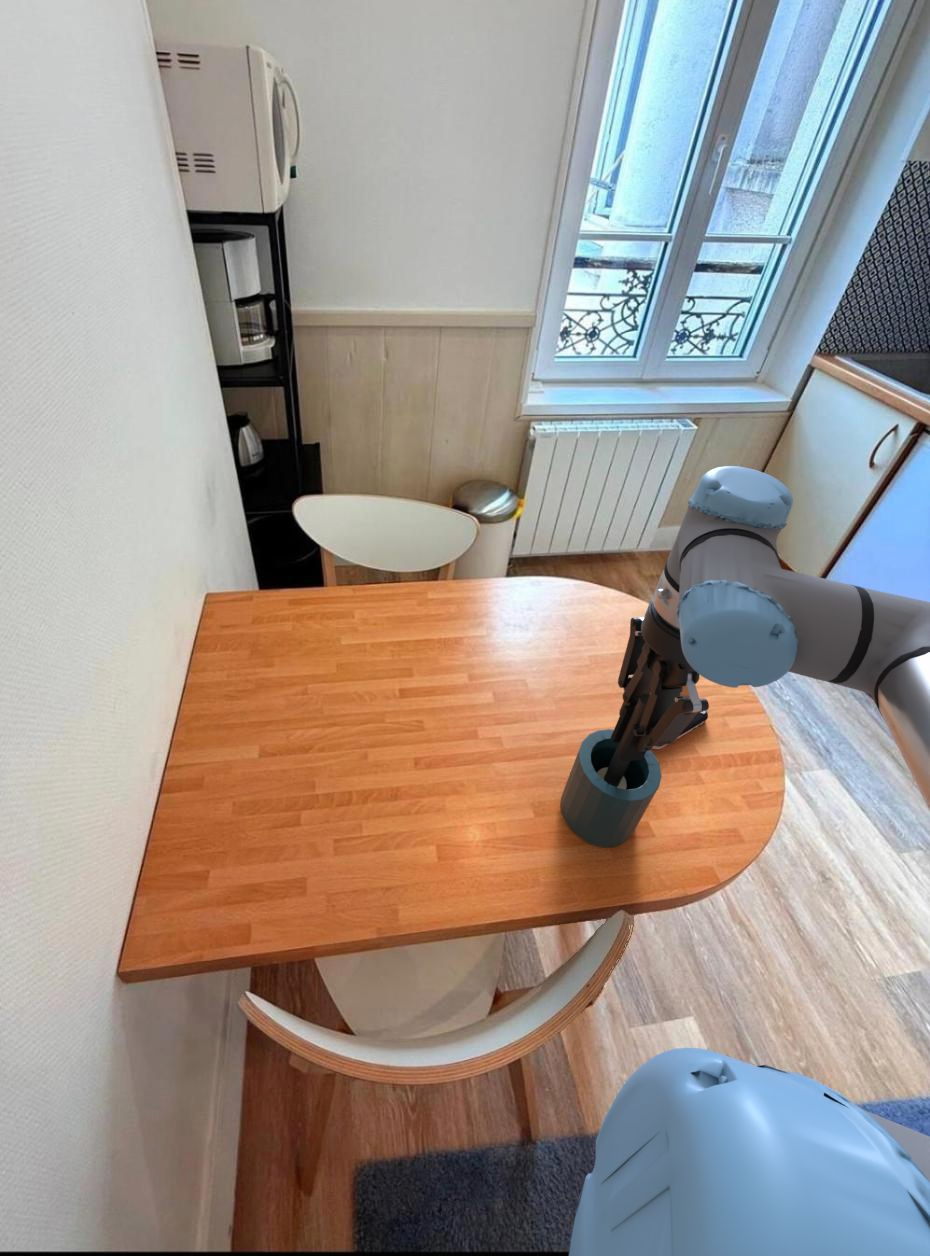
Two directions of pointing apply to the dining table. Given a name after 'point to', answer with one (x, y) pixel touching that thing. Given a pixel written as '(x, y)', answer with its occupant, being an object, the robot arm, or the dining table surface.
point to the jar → (607, 793)
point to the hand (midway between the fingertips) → (626, 748)
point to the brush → (617, 767)
